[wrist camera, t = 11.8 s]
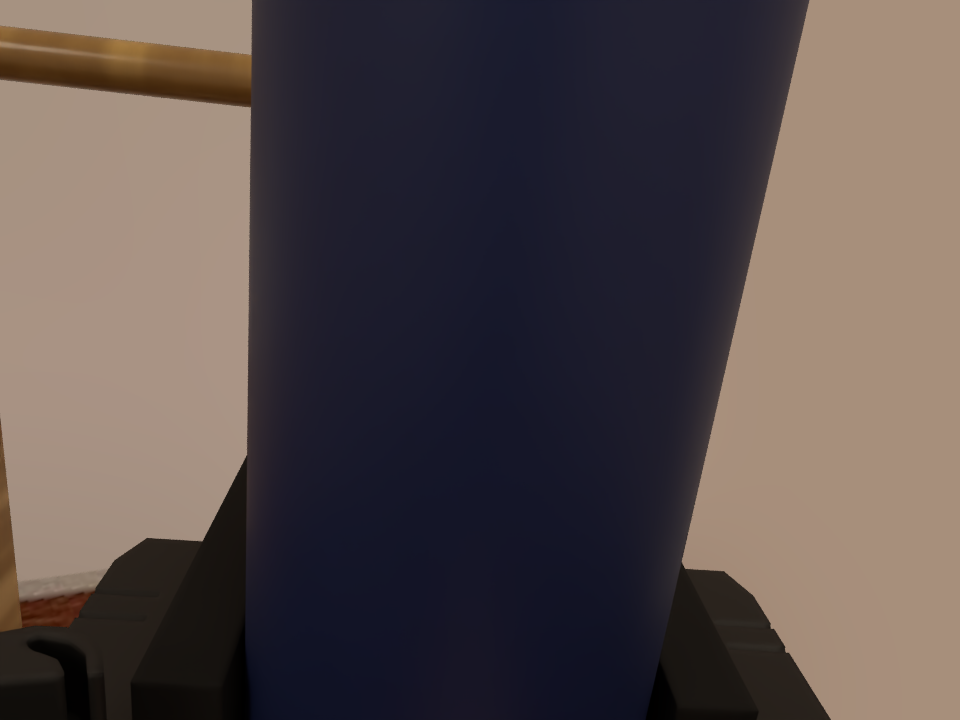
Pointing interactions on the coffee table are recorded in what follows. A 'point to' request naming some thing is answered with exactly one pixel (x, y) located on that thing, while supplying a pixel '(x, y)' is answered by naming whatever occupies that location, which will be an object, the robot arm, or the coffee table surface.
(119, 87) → the rack
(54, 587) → the coffee table surface
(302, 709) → the umbrella
